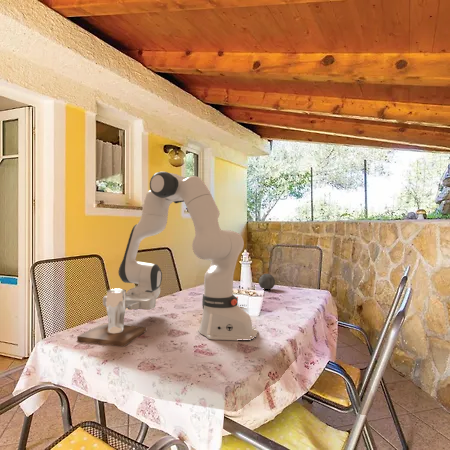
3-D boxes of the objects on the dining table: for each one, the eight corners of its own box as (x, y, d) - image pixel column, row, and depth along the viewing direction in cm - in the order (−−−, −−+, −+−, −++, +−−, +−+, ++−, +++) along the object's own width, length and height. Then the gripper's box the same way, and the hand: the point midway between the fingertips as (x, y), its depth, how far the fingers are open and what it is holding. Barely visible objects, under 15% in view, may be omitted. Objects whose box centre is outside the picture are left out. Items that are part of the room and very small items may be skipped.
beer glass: (119, 336, 118) (119, 293, 117) (101, 333, 119) (102, 292, 119) (129, 329, 124) (130, 289, 124) (112, 327, 126) (113, 288, 126)
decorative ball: (275, 288, 213) (275, 273, 213) (274, 292, 203) (274, 275, 203) (259, 287, 215) (259, 272, 214) (257, 291, 205) (258, 274, 205)
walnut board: (146, 331, 128) (146, 327, 128) (123, 346, 112) (123, 342, 112) (104, 326, 132) (104, 322, 132) (77, 340, 117) (77, 336, 116)
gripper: (114, 288, 141) (93, 295, 127) (159, 292, 136) (142, 300, 122) (113, 303, 141) (93, 312, 127) (158, 307, 136) (142, 317, 122)
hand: (118, 306), depth 125 cm, fingers open, 8 cm apart
